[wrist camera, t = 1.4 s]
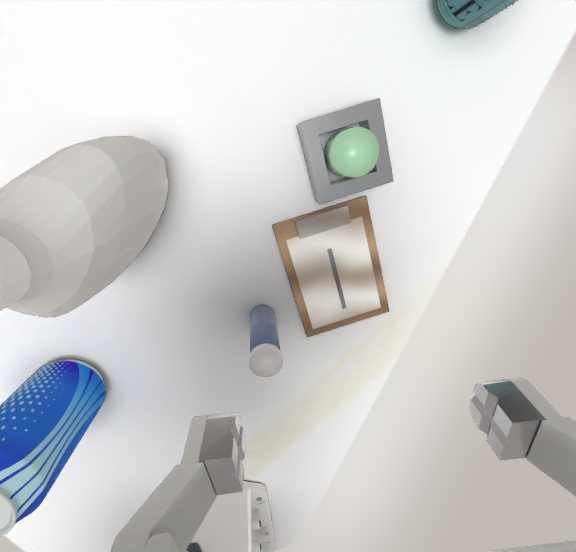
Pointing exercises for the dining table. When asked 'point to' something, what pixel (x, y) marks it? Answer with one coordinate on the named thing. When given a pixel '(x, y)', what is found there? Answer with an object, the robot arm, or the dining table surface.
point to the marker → (264, 342)
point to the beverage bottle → (470, 11)
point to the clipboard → (333, 265)
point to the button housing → (313, 153)
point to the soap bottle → (77, 222)
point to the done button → (352, 152)
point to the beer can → (43, 432)
